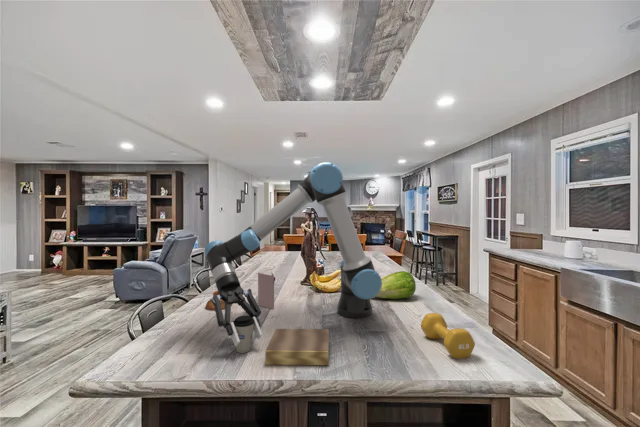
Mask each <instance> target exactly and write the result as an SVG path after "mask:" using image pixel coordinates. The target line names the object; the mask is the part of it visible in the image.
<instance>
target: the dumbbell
mask: <svg viewBox="0 0 640 427" xmlns="http://www.w3.org/2000/svg"><path fill="white" fill-rule="evenodd" d="M420 328H421V331H422V332H423V334H424V335H425V337H427V339H431V340H433V339H434V340H435V339H442V340H443V344H444V347H445V349H446V351H447V353H448V354H449V355H450V356H451V357H452V358H454V359H458V360H459V359H467V358H469V357H470V356H471V355H472V353H473V351H474V349H475V346H476V345H475V344H476V342H475V340H474V338H473V336H472V335H471V333H470V331H468V330H467V329H464V328H452V329H448V324H447V322H446V320H445V318H444V317H443V315H441V314H440V313H438V312H431V313H427V314H425V315H424V317H423V318H422V320H421V322H420Z"/></svg>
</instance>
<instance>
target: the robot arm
mask: <svg viewBox="0 0 640 427" xmlns="http://www.w3.org/2000/svg"><path fill="white" fill-rule="evenodd" d="M343 181H344V179H343V173H342V170H341V169H340V168H339V166H337V165H336V164H334V163H333V162H321V163H318V164H317V165H315V166H314V167H312V169H311V171H310V172H309V174H307V176H306V177H305V178H304V179H303V180H302V181H301V182H300V183H299V184H298V185H297V188H296V189H295V190H293V191H292V192H291V193H290V194H288V196H286V197H285V198H283V200H281V201H280V202H278V203H277V204H276V205H275V206H273V207H272V208H271V209H269V210H268V211H267V212H266V213H265V214H264V215H262V216H260V218H258V219H257V220H255V221H254V222H253V223H252V224H251V225H250V226H248V227H247V228H246V229H244V230H243V231H242V232H240V233H239V234H237V235H236V236H234V237H232V238H231V239H229V240H227V241H224V242H223V241H222V240H220V239H218V240H216V239H215V241H213V240H212V241H210V242H209V243H207V244H206V245H205V246H204V247H205V248H204V254H205V258H206V261H207V264H208V266H209V269H210V271H211V275H212V278H213V281H214V283H215V286H216V289H217V290H216V291H218V292H219V295H214V296H213V295H212V298H211V299H212V300H211V301H212V303H213V304H214V307H215V311H214V313H215V317H216V322H217V326H218V327H223V328H224V329H225V330H226V333H227V335H228V337H230V336H231V339H232V342H233V345H234V347H236V346H237V345H238V344H239V342H240V340H239V337H238V334H237V331H236V329H235V326H234V323H233V321H232V322H231V317H232V316H231V315H232V314H231V313H232V312H231V311H232V310H231V308H232V306H233V304H236V305H238V306H240V307H241V308H242V309H243V310H244V312H245V313H246V314H247V316H250V317H251V318H252V319H254V321H255V323H254V327H253V333H254V335H255V338H256V339H257V340H260V339H261V337H262V336H263V333H262V330H261V322H260V320H259V317H260V316H261V314H262V309H261V307H260V305H258V301H256V299H255V297H254V295H253V293H252V288H248V289H244V288H243V287H242V286H241V283H240V280H239V278H238V274H237V273H236V270H235V267H234V264H233V263H232V262H234V261H236V260H237V259H240V257H241V258H242V257H243V256H245V255H247V254H248V253H251V252H254V251H255V250H256V249H257V248H259V247H260V245H261V241H262V240H264V239H265V238H266V237H267V236H269V235H270V234H271V233H272V232H274V231H275V230H276V229H278V227H280V226H282V224H284V223H285V222H286V221H287V220H289V219H290V218H291V217H292V216H294V215H295V214H297V213H298V212H299V211H300V210H301V209H302V208H304V207H305V206H306V205H308V204H309V203H314V202H315V201H316V202H317V204H319V205H320V206H322V208H323V210H324V212H325V216H326V218H327V221H328V223H329V226H330V228H331V231H332V233H333V236H334V239H335V242H336V244H337V247H338V249H339V252H340V255H341V257H342V260H341V261H340V262H341V263H340V296H339V300H338V303H337V305H336V312H337V314H338V315H340V316H342V317H346V318H351V319H354V318H355V319H359V318H367V317H369V316H371V315H372V314H373V307H372V306H373V305H372V303H371V301H370V299H373V298H375V296H376V295H377V294H378V293H379V291H380V289H381V286H382V280H381V279H382V277H381V276H380V274H379V272H378V271H377V270H376V269H375V266H374V263H373V261H372V259H371V258H370V257H369V256H367V255H366V254H365V252H364V248H363V246H362V243H361V241H360V238H359V235H358V232H357V230H356V227H355V225H354V222H353V220H352V216H351V214H350V212H349V208H348V206H347V203H346V200H345V195H346V193H347V191H346V188H345V186H344V183H343ZM220 299H221V300H223V301H224V302H225V309H224V315H223V310H222V308H221V303H220ZM231 305H232V306H231Z"/></svg>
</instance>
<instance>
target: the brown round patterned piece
mask: <svg viewBox="0 0 640 427" xmlns="http://www.w3.org/2000/svg"><path fill="white" fill-rule="evenodd" d="M214 295H219V292H218V290H215V291H214V292H213V293H212V297H213V296H214ZM211 300H212V298H210V299H209V300H207V302H206V304H205V309H206V310H208V311H213V312H215V307H214V304H213V303H212V301H211ZM220 303H221V308H222V311H223V310H225V302H224V301H223V300H221V299H220ZM232 306H233V304H232V305H231V307H232Z"/></svg>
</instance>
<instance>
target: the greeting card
mask: <svg viewBox="0 0 640 427" xmlns="http://www.w3.org/2000/svg"><path fill="white" fill-rule="evenodd" d="M275 281H276V277H275V276H274V273H273V272H271V274H265V273H263V272H262V273H261V272H258V273H257V294H258V295H257V304H258V306H262V307H266V308H268V309H272V310H275Z"/></svg>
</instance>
